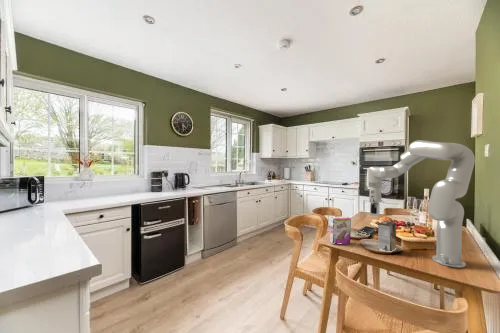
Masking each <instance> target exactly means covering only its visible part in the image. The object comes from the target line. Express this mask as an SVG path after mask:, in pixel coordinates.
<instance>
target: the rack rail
mask: <svg viewBox="0 0 500 333" xmlns="http://www.w3.org/2000/svg"><path fill="white" fill-rule="evenodd" d="M376 228H377V227H373V226H363V227H362V228H360V229H358V230H357V232H358V233H361V232H359V231H363V230H364V231H363V232H366V233H367V234H366V235H369V234H372V235H374V234H375V233H376V232H375V230H376ZM362 234H365V233H362Z"/></svg>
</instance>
